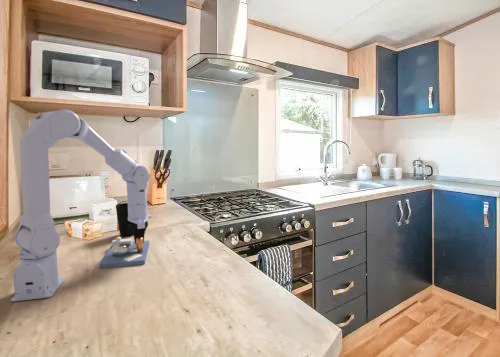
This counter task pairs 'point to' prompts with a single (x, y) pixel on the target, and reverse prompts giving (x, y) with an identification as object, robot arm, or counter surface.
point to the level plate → (128, 259)
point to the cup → (123, 220)
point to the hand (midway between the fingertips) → (139, 244)
